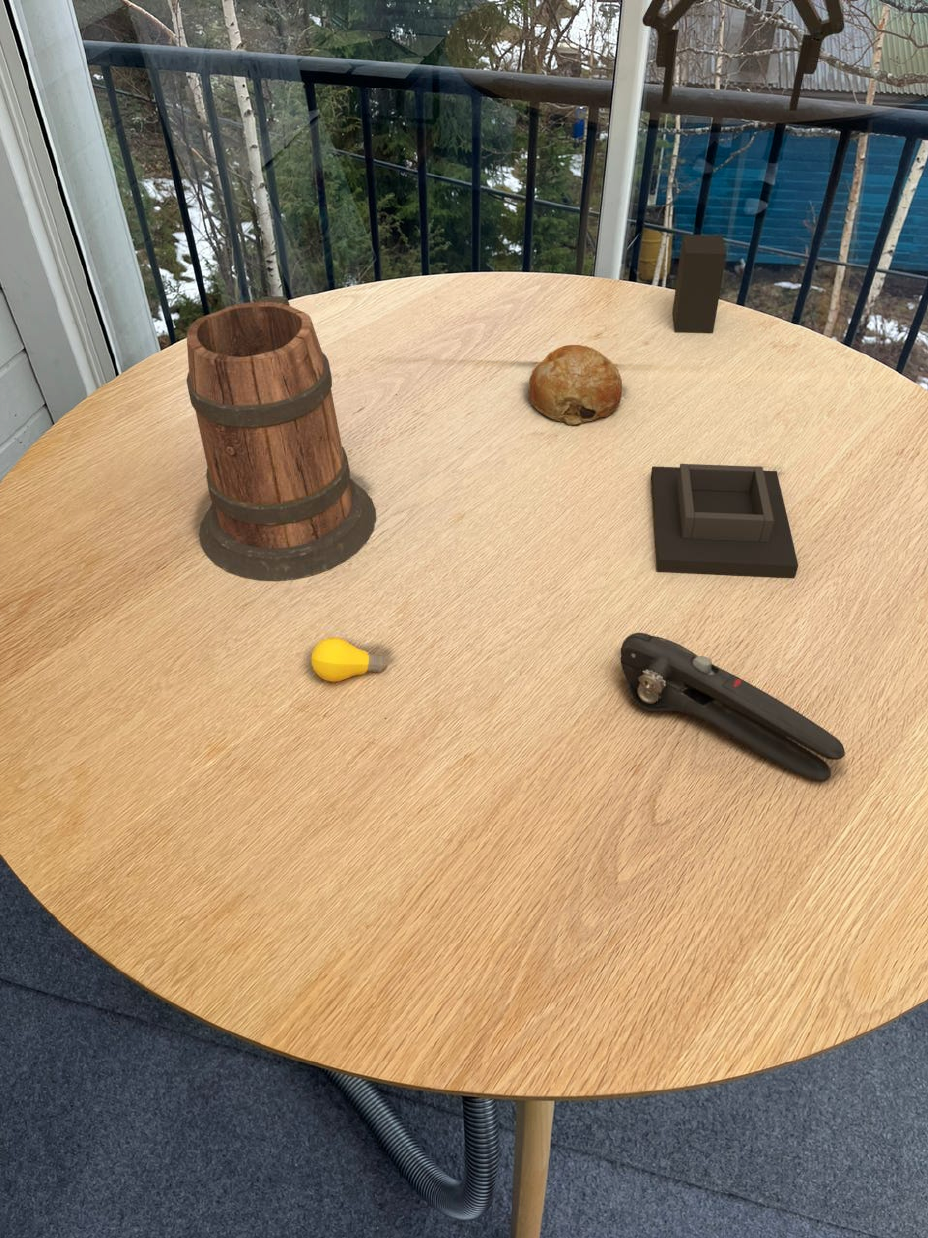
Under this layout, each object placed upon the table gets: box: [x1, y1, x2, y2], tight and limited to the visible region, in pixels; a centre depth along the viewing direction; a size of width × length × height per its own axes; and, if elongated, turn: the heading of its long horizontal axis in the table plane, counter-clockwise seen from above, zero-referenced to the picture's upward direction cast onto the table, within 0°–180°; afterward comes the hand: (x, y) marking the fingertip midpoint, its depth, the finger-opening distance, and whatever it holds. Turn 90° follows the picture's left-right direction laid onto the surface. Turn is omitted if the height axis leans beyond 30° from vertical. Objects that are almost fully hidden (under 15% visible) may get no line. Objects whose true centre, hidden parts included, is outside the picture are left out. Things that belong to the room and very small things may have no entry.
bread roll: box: [528, 344, 623, 426], centre depth 102 cm, size 10×10×8 cm
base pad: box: [650, 463, 799, 579], centre depth 86 cm, size 12×14×4 cm
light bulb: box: [310, 636, 388, 682], centre depth 75 cm, size 3×6×4 cm, turn 96°
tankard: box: [186, 295, 377, 582], centre depth 85 cm, size 24×17×20 cm
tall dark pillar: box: [671, 234, 728, 334], centre depth 110 cm, size 4×5×11 cm
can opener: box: [620, 632, 846, 782], centre depth 69 cm, size 18×7×6 cm, turn 50°
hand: (728, 103), depth 103 cm, fingers open, 13 cm apart
